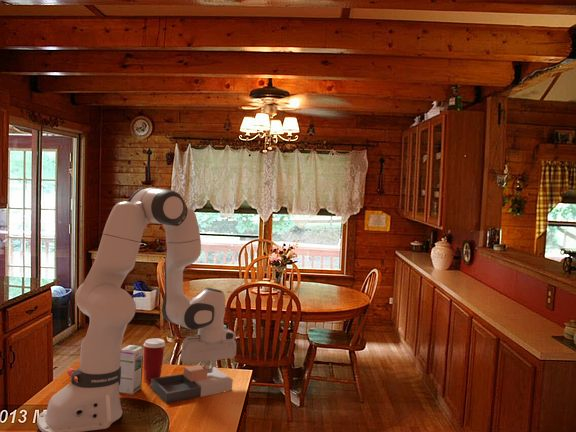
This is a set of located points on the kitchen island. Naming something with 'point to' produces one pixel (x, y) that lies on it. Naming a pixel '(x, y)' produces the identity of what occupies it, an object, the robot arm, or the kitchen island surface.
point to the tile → (195, 373)
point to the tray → (175, 388)
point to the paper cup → (153, 358)
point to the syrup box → (131, 369)
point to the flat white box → (215, 383)
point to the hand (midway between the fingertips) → (207, 372)
